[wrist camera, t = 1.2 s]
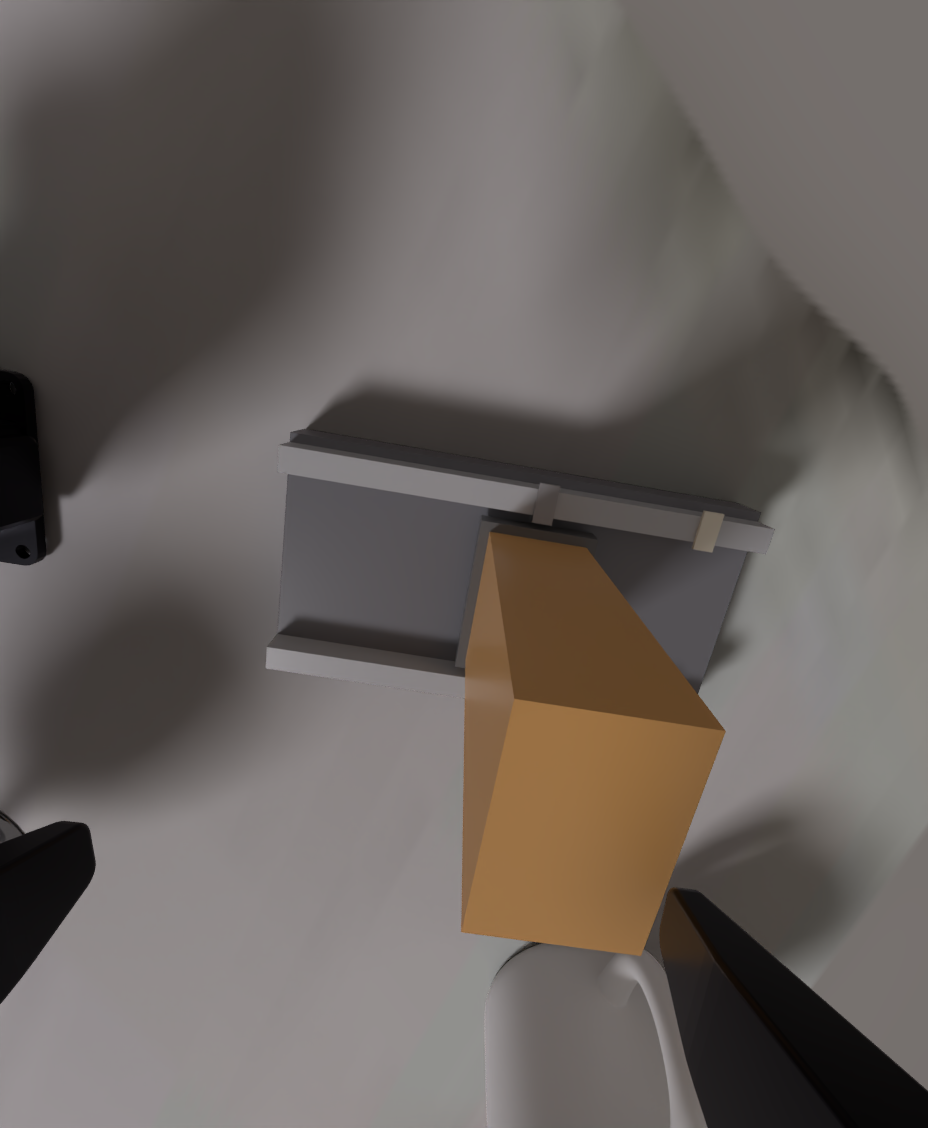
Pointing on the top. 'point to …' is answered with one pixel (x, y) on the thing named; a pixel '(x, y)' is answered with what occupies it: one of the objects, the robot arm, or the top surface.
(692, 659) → the rail
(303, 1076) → the top surface
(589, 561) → the fader tab
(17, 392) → the robot arm
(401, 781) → the top surface
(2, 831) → the wine glass
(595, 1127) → the cup
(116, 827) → the top surface
